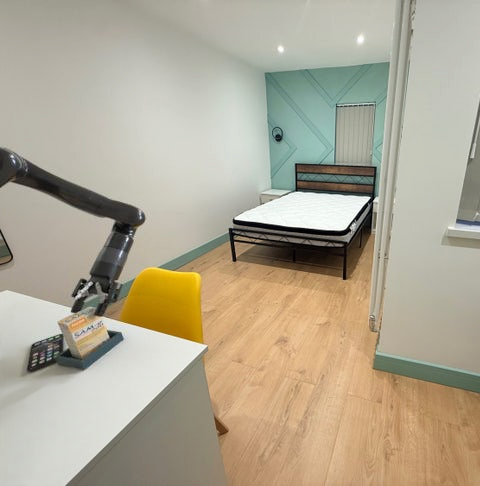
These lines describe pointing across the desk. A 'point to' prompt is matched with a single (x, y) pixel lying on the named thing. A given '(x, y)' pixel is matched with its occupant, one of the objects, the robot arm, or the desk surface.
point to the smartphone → (45, 352)
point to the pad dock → (70, 361)
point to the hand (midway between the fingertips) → (86, 314)
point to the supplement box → (83, 332)
